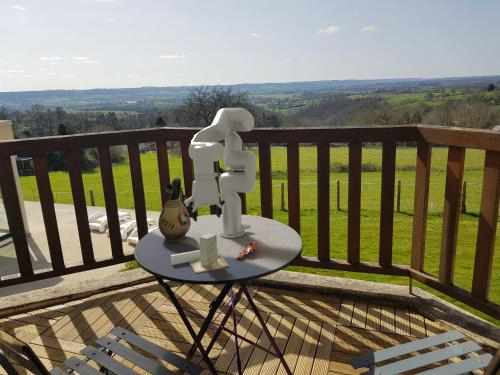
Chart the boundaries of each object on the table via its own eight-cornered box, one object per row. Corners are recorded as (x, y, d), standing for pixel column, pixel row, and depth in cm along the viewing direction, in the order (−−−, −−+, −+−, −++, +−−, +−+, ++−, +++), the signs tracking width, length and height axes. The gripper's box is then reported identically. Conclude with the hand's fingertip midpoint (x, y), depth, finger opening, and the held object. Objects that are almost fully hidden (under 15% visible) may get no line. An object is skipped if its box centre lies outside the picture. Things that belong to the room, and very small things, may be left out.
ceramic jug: (183, 245, 171) (178, 183, 163) (153, 242, 175) (148, 182, 167) (197, 233, 186) (194, 175, 179) (170, 230, 191) (166, 174, 183)
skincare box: (208, 267, 147) (207, 239, 144) (200, 264, 149) (198, 237, 146) (218, 261, 152) (217, 234, 149) (209, 259, 154) (208, 232, 151)
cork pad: (221, 257, 158) (221, 255, 157) (228, 266, 149) (228, 265, 148) (189, 263, 152) (189, 261, 152) (195, 273, 143) (195, 271, 143)
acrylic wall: (217, 255, 159) (216, 246, 158) (217, 256, 159) (217, 247, 158) (171, 264, 152) (170, 255, 151) (171, 265, 151) (171, 256, 150)
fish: (254, 237, 166) (264, 244, 159) (254, 247, 167) (264, 254, 160) (229, 243, 160) (238, 250, 152) (229, 253, 161) (238, 260, 154)
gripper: (222, 172, 148) (224, 212, 153) (180, 177, 142) (183, 219, 146) (228, 176, 141) (230, 218, 146) (184, 181, 135) (187, 225, 139)
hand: (206, 218), depth 146 cm, fingers open, 9 cm apart
